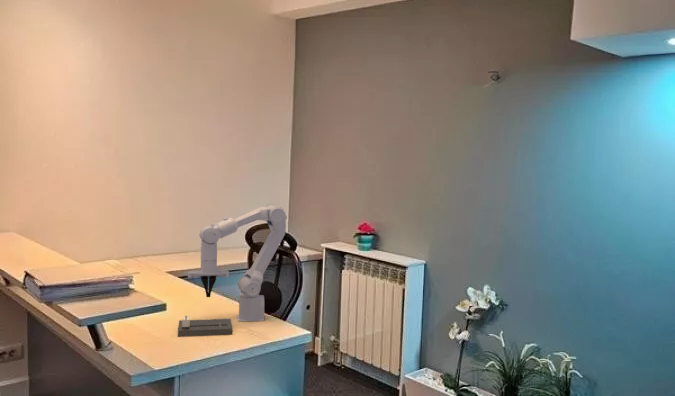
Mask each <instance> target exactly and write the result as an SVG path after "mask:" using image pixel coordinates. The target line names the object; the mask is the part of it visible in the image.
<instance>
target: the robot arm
mask: <svg viewBox="0 0 675 396" xmlns="http://www.w3.org/2000/svg"><path fill="white" fill-rule="evenodd" d="M287 218H288V217H287V214H286V212H285V209H284V208H282V207H281V206H277V205H274V204H271V203H270V204H266V205H265V206H264V205H263V206H259V207H258V208H256V209H254V210H251V211H249V212H247V213H245V214H243V215H241V216H239V217H237V218H233V217H224V218H223V220H221V221H218V222H216V223H214V222H213V223H211V226H210V225H206V226H204V227H203V228H202V229H201V230H200V233H199V238H200V239H201V243H200V244H201V245H200V270H191V271H190V270H189V271H187V278H188V279H189V278H190V279H191V278H200V280H201V283H202V285H203V287H204V290H205V295H206V298H210V297H211V293H212V292H213V288H214V286H215V283H216V280H217V278H219V277H220V278H221V277H222V278H224V277H225V278H229V277H230V271H229V270H218V269H217V268H218V241H219V239H223V238H225V237H227V236H230V235H232V234H235V233H236V232H237V231H238V229H239V228H240V227H243V226H245V225H248V224H251V223H254V222H256V221H258V220H259V221H265V222H266V223H267V225H268V227H269V230H270V232H269V234H268V236H267V238H266V240H265V241H264V243H263V245H262V247H261V249H260V250H259V253H258V254H257V256H256V258H255V260H254V261H253V264H252V265H251V267H250V268H249V269H248V270H246V272H245V273H244V274H243V276H241V277H240V278H239V279H238V282H237V287H238V289H239V290H240V292H239V294H238V295H239V296H238V304H239V305H238V314H237V315H236V316H237V321H238V323H240V322H264V321H265V295H263V294H262V295H261V294H260V292H261V289H262V287H261V286H262V284H263V282H264V275H265V272H266V270H267V268H268V266H269V265H270V262H271V261H272V260H273V257H274V255H275V254H276V252H277V250H278V248H279V247H280V244H281V243H282V241H283V239H284V237H285V235H286V232H287V231H286V230H287V229H286V225H287V224H286V221H287V220H288V219H287Z"/></svg>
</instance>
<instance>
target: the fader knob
mask: <svg viewBox="0 0 675 396" xmlns="http://www.w3.org/2000/svg"><path fill="white" fill-rule="evenodd" d="M181 318H182V319H181V320H182V327H190V320H191V315H182V317H181Z"/></svg>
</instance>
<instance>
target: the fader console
mask: <svg viewBox="0 0 675 396" xmlns="http://www.w3.org/2000/svg"><path fill="white" fill-rule="evenodd" d="M177 327H178V328H177V329H178V330H177V337H178V338H180V337H204V336H207V337H209V336H228V335H229V336H230V335H231V336H233V325H232V319H231V318H223V319H222V318H217V319H190V327H182V319H181V320H180V319H179V320H178V326H177Z"/></svg>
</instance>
